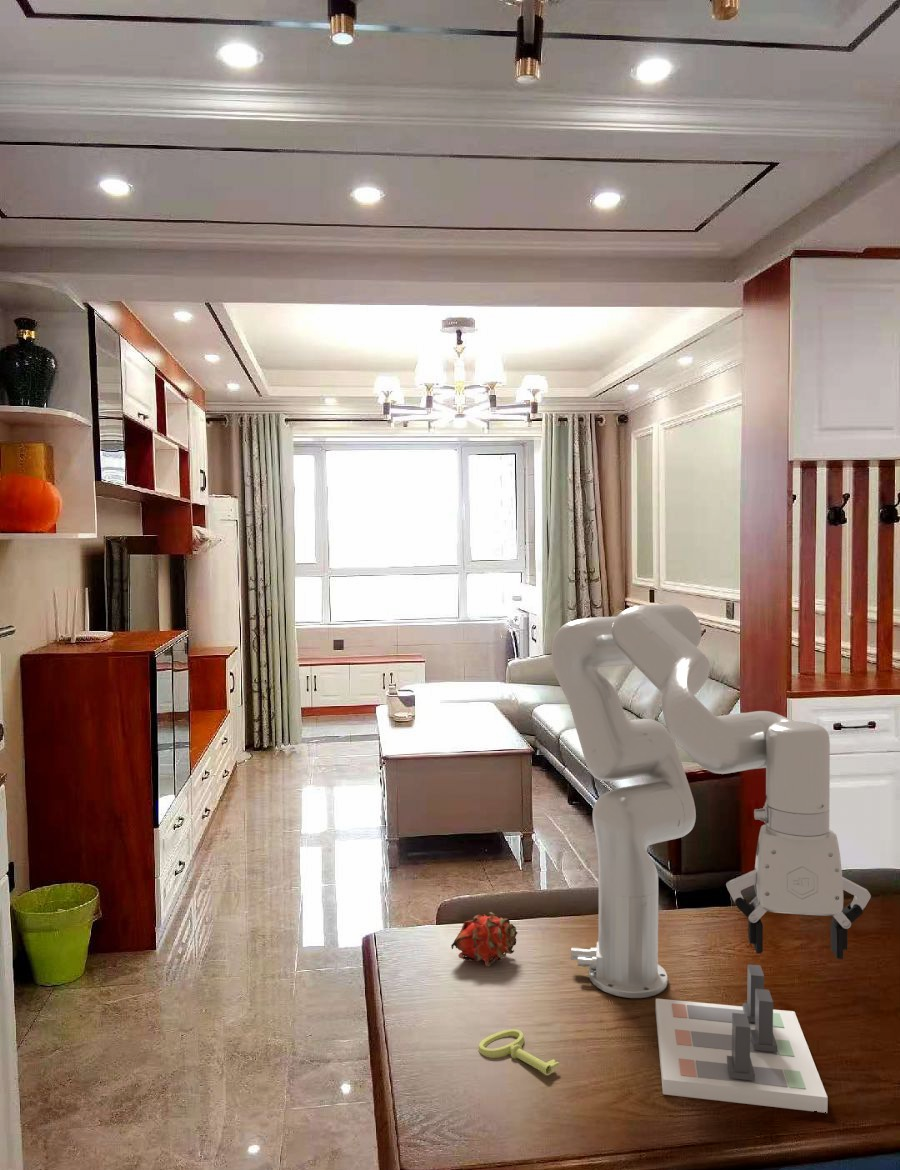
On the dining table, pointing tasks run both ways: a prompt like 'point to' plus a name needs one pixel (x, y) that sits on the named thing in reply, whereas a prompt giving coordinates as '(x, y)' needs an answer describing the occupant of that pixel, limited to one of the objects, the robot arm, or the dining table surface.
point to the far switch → (753, 989)
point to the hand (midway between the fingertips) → (796, 951)
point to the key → (515, 1050)
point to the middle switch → (763, 1022)
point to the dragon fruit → (486, 939)
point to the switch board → (704, 1041)
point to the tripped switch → (740, 1049)
